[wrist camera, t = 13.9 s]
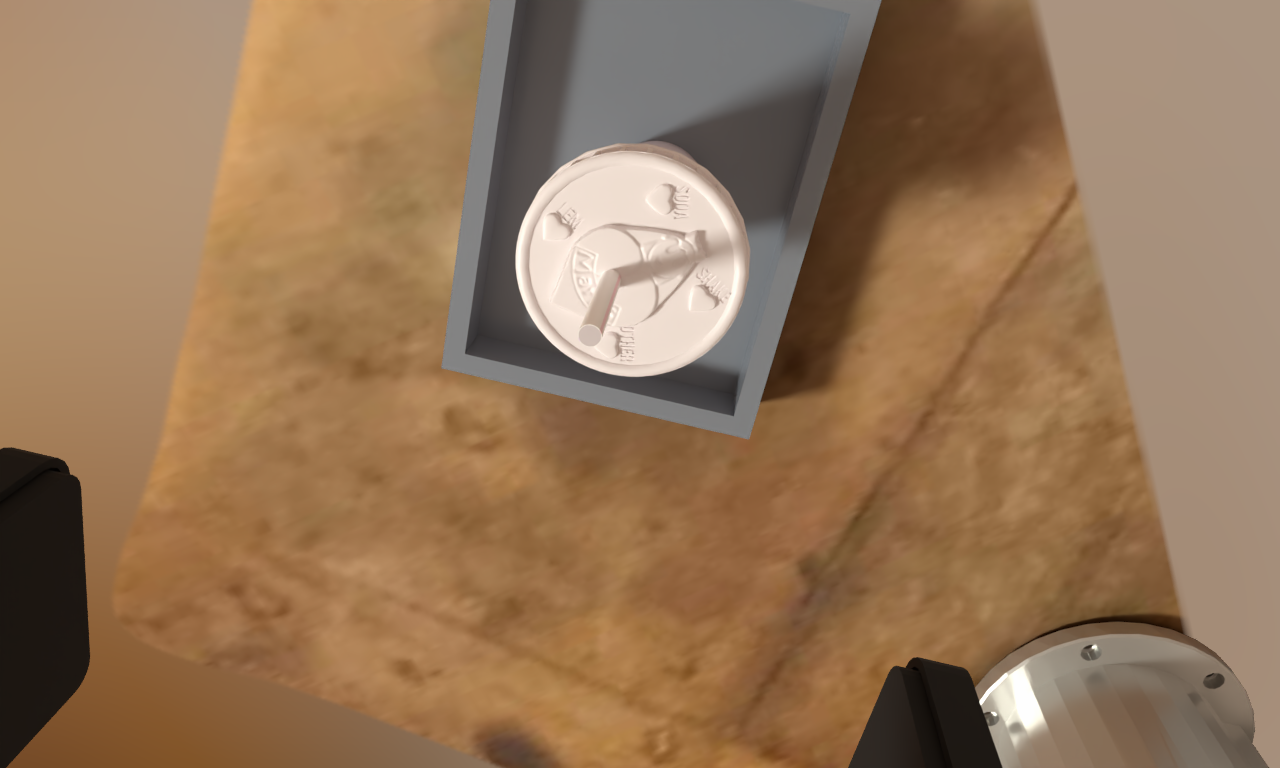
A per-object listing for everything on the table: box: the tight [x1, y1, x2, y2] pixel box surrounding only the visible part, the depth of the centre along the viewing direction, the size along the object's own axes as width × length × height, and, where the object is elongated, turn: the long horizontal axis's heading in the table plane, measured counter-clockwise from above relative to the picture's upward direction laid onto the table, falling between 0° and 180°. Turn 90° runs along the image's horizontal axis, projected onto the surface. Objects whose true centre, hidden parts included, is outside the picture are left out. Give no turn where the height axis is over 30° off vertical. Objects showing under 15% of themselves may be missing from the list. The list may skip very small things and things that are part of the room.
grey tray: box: [442, 0, 881, 439], centre depth 33 cm, size 12×16×3 cm
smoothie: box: [516, 141, 750, 377], centre depth 27 cm, size 6×6×14 cm
